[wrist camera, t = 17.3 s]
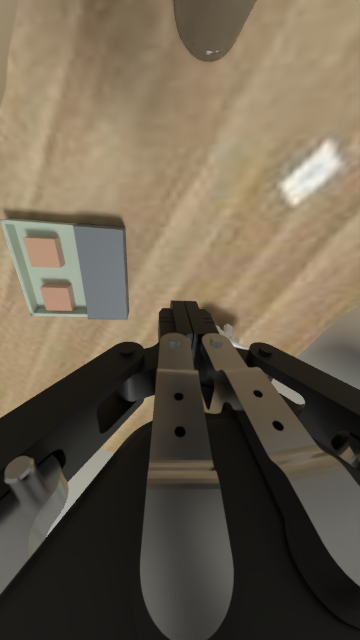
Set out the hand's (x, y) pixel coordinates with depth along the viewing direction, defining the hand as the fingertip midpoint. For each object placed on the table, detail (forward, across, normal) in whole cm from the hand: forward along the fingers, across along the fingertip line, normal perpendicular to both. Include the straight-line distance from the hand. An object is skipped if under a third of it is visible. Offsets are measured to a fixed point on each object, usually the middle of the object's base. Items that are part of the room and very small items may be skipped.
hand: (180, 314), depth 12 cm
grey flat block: (+32, +11, +8) cm, 35 cm away
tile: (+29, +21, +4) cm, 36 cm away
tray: (+32, +21, +8) cm, 39 cm away
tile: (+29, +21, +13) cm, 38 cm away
